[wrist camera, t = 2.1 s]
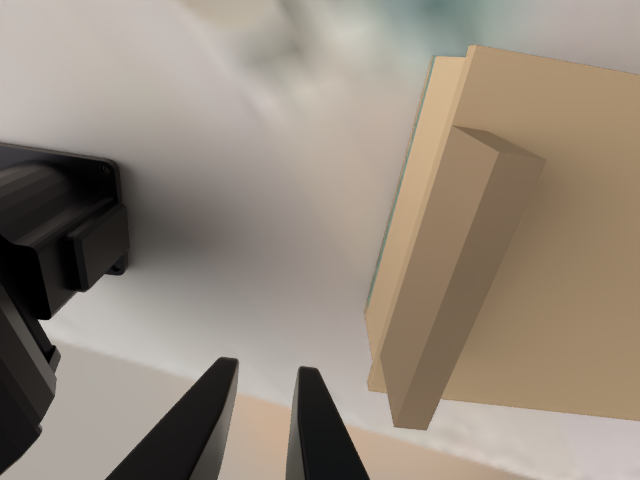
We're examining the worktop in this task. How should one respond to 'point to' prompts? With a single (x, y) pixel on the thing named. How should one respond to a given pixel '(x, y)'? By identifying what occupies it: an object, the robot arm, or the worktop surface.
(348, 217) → the worktop surface
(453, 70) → the mailer box
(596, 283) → the lid
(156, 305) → the worktop surface
